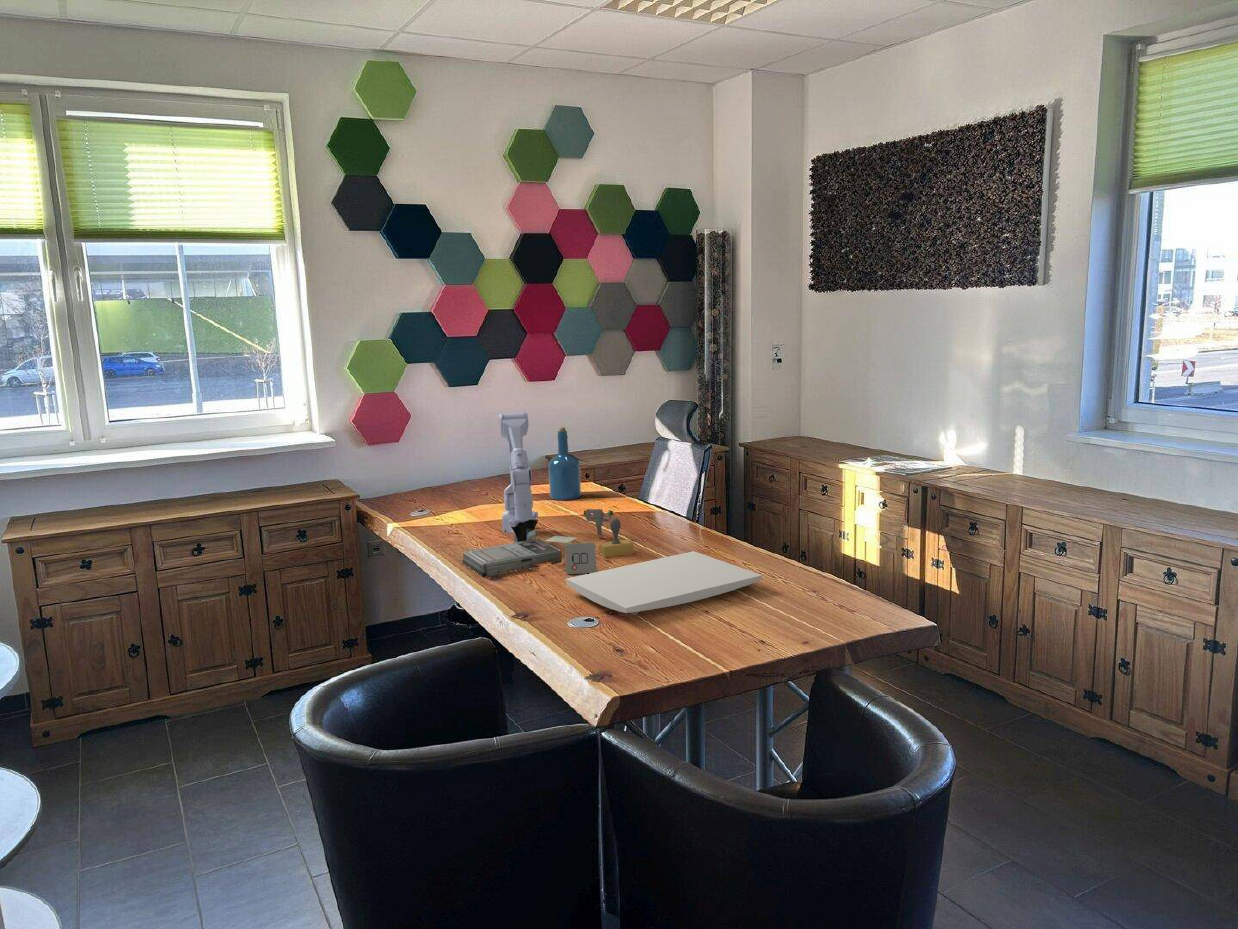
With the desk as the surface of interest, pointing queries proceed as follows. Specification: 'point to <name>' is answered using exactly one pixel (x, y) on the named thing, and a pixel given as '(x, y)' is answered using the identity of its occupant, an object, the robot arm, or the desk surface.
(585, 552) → the electrical switch
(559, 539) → the stand
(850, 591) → the desk surface
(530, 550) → the hard drive
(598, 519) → the mechanical component
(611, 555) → the rubber stamp
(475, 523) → the desk surface
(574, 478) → the wine bottle
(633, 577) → the board
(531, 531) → the block
